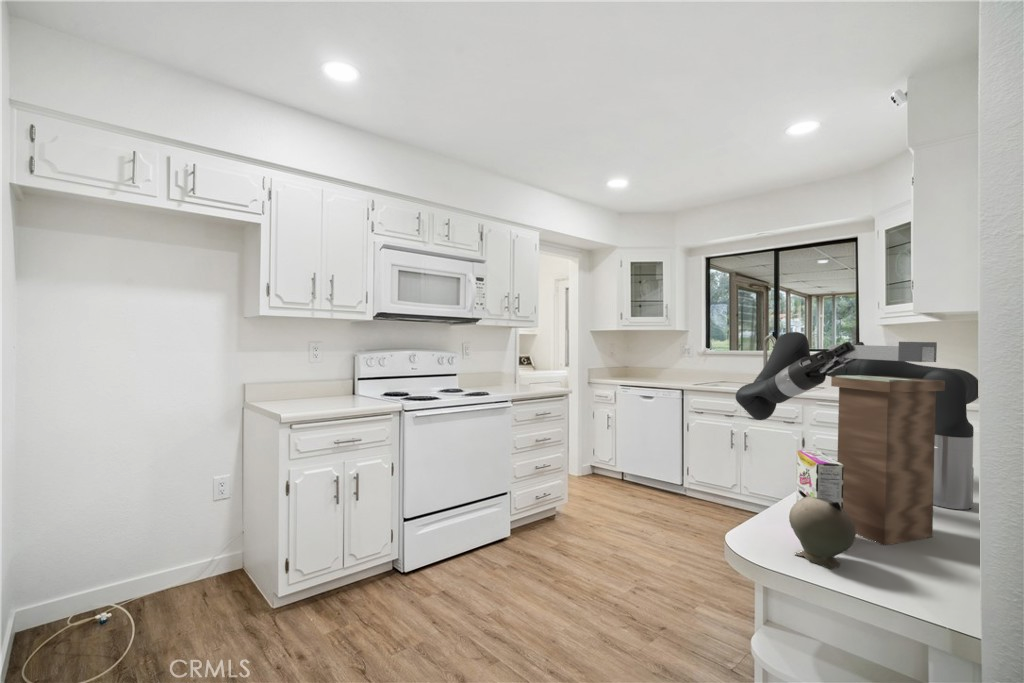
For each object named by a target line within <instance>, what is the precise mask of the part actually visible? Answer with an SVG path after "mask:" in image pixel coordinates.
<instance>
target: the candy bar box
mask: <svg viewBox="0 0 1024 683" xmlns="http://www.w3.org/2000/svg"><path fill="white" fill-rule="evenodd" d="M843 468H844V465H843V464H841V463H839V462H837V460H836V459H834V458H832V457H830V456H829V455H827V454H825V453H824V452H822V451H818V450H817V451H816V450H802V449H801V450H800V449H799V450H796V502H798V501H799V500H801V499H802V498H804V497H803V496H801V494H800V493H799V490H800V491H802V492H803V493H804V494H805V495H806V496H810V497H815V498H825V499H829V500H831V501H833V502H835V503H836V502H838V503H839V505H840V506H841V508H842V509H843Z"/></svg>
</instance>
